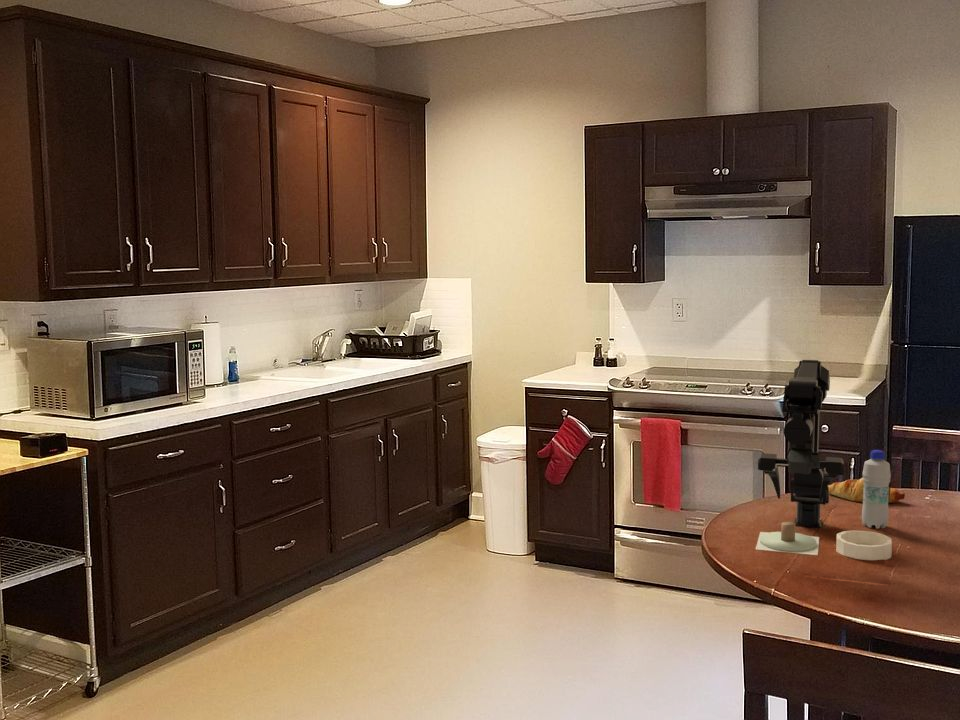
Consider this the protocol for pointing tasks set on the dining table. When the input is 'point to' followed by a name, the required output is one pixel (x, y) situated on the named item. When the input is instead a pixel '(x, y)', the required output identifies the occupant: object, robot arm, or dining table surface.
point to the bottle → (876, 490)
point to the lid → (788, 539)
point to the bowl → (864, 545)
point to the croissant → (859, 491)
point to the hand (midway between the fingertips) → (799, 499)
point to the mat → (810, 552)
